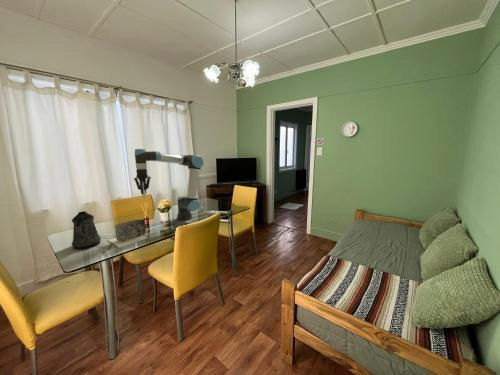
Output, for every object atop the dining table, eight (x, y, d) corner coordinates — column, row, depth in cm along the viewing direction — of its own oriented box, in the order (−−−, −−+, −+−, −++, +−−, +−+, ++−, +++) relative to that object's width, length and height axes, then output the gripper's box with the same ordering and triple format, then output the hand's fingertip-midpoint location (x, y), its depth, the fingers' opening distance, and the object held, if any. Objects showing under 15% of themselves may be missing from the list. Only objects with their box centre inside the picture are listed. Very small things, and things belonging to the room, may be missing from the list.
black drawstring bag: (97, 238, 163) (93, 207, 159) (105, 245, 151) (101, 212, 147) (69, 245, 150) (64, 212, 146) (76, 253, 138) (71, 217, 134)
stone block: (146, 234, 169) (120, 243, 153) (142, 233, 173) (116, 241, 158) (145, 219, 168) (117, 225, 152) (140, 217, 172) (113, 224, 156)
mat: (137, 232, 176) (137, 231, 176) (149, 237, 165) (149, 237, 165) (107, 240, 159) (107, 240, 159) (119, 247, 147) (118, 246, 147)
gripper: (147, 167, 172) (149, 195, 176) (130, 169, 162) (133, 198, 166) (152, 168, 168) (154, 196, 172) (135, 169, 157) (138, 199, 161)
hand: (144, 197), depth 169 cm, fingers closed
